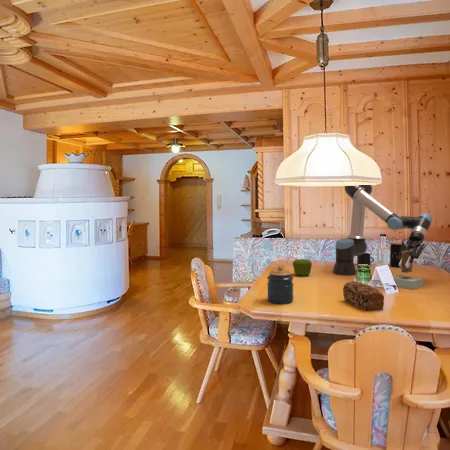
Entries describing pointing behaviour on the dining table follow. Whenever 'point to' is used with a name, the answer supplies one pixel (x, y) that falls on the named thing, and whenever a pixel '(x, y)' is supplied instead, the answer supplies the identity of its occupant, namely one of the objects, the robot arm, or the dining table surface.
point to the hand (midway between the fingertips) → (403, 266)
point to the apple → (302, 267)
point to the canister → (280, 286)
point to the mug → (364, 259)
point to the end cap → (408, 281)
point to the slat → (404, 259)
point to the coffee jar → (395, 254)
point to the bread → (363, 296)
